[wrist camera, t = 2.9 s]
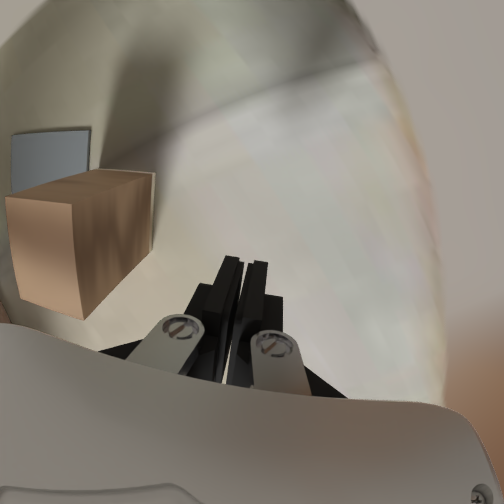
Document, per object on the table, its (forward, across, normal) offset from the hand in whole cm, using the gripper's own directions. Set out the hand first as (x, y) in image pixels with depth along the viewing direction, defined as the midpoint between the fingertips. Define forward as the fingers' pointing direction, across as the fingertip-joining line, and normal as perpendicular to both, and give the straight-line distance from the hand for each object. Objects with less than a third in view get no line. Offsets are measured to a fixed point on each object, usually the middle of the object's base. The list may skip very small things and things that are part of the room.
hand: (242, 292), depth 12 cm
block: (+10, +10, 0) cm, 14 cm away
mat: (+10, +19, 0) cm, 21 cm away
